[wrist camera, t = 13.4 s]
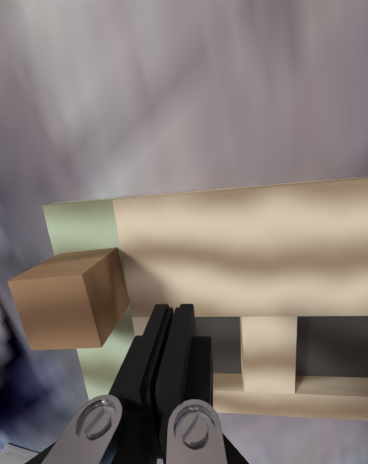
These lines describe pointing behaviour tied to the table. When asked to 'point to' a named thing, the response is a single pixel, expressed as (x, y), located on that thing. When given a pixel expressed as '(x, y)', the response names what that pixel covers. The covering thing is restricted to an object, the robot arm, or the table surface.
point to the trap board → (243, 287)
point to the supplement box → (15, 455)
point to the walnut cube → (71, 299)
